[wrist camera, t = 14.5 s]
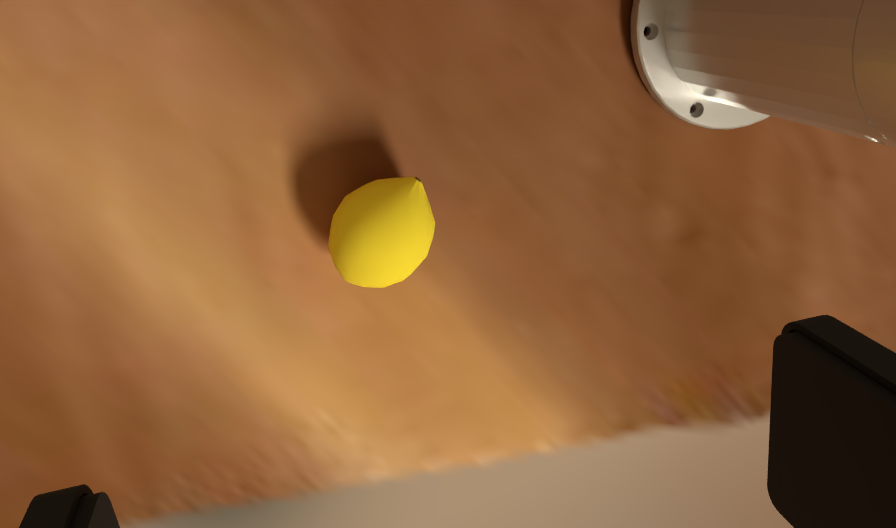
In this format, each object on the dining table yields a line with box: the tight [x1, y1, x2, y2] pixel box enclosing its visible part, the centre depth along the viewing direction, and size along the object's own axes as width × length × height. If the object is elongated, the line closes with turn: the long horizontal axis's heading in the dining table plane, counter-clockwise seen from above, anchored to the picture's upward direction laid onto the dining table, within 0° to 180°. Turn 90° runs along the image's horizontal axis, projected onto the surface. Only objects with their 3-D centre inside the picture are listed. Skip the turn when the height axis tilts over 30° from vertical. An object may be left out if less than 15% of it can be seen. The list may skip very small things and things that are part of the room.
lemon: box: [328, 177, 435, 288], centre depth 40 cm, size 7×5×5 cm
